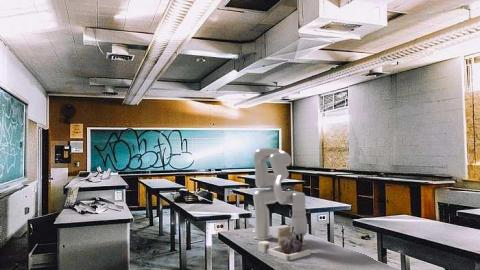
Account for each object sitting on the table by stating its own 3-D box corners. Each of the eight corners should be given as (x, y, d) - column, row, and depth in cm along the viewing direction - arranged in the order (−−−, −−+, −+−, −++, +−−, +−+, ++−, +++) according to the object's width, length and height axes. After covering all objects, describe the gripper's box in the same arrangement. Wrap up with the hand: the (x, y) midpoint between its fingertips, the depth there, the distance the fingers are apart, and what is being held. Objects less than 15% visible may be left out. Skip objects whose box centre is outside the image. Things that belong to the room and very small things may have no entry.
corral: (267, 253, 216) (267, 249, 216) (289, 248, 226) (289, 243, 226) (288, 260, 202) (288, 255, 202) (310, 254, 213) (310, 249, 213)
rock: (293, 259, 207) (306, 255, 214) (294, 244, 206) (307, 241, 213) (278, 251, 217) (291, 248, 223) (279, 237, 216) (292, 234, 222)
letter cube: (258, 250, 222) (258, 242, 222) (264, 249, 225) (264, 240, 225) (264, 252, 218) (263, 244, 218) (270, 251, 221) (270, 242, 221)
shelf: (275, 247, 227) (275, 227, 227) (299, 242, 239) (298, 223, 239) (282, 250, 222) (282, 229, 223) (306, 244, 234) (305, 224, 235)
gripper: (303, 211, 228) (303, 242, 227) (285, 214, 219) (285, 246, 218) (312, 213, 222) (313, 244, 221) (294, 216, 213) (295, 249, 212)
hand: (299, 245), depth 220 cm, fingers closed
